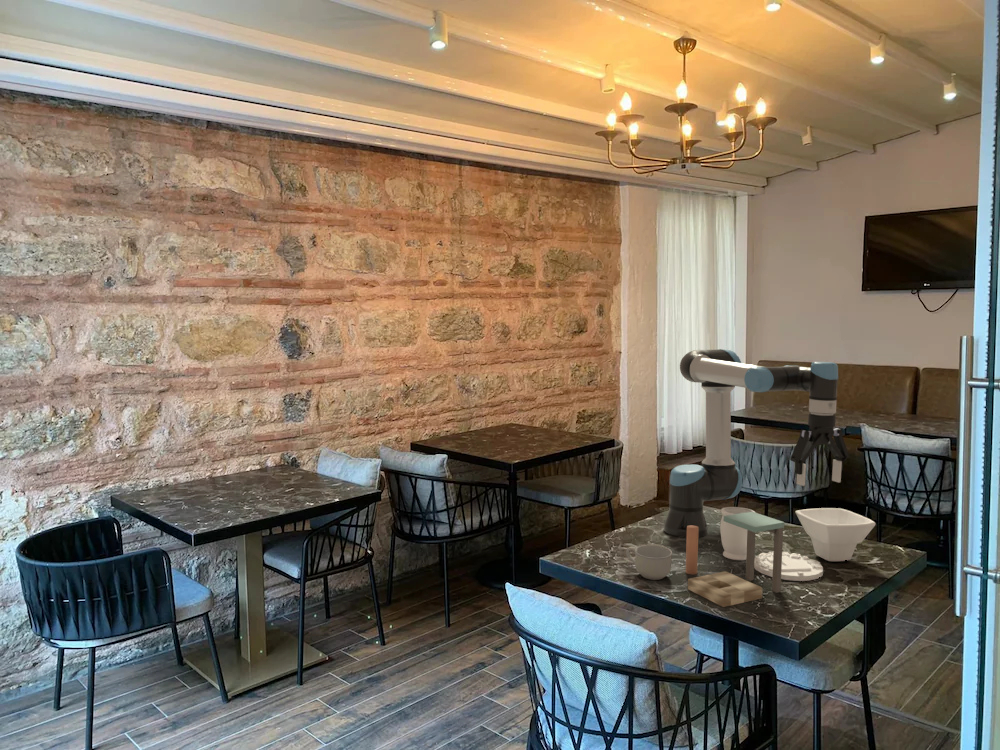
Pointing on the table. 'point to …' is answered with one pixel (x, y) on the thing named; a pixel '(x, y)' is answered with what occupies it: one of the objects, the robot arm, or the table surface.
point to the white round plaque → (790, 566)
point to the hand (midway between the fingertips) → (818, 483)
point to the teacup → (651, 560)
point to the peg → (692, 549)
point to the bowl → (834, 531)
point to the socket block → (724, 588)
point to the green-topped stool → (753, 525)
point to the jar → (733, 535)
